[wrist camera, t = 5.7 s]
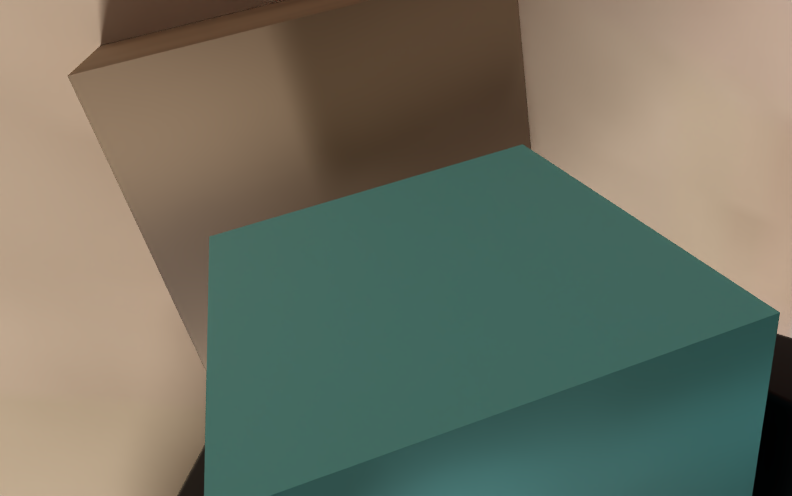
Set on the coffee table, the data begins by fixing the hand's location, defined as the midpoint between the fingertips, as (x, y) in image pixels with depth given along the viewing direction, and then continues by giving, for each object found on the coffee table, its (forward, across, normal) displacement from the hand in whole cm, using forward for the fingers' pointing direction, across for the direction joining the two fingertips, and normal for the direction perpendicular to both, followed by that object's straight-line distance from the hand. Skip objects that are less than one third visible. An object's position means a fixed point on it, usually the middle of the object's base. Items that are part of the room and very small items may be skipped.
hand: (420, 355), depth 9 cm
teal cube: (+1, 0, 0) cm, 1 cm away
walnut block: (+9, 0, 0) cm, 9 cm away
